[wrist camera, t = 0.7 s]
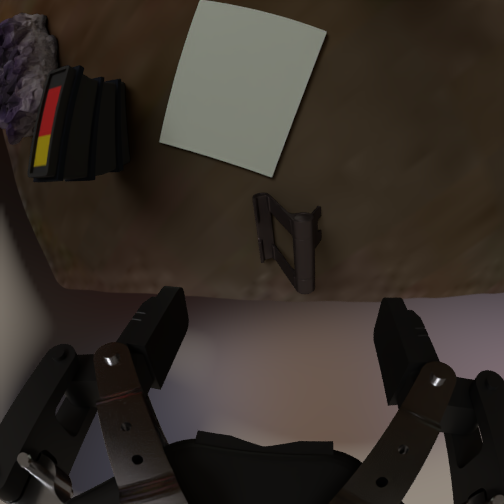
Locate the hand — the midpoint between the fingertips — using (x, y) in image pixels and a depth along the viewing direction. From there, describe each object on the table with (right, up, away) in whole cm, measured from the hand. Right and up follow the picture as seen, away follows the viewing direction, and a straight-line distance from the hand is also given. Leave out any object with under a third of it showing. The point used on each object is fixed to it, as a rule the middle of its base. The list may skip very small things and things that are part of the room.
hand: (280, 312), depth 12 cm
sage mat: (-3, +20, +17) cm, 27 cm away
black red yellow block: (-18, +20, +20) cm, 33 cm away
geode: (-32, +29, +17) cm, 47 cm away
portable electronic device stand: (+4, +6, +25) cm, 26 cm away
